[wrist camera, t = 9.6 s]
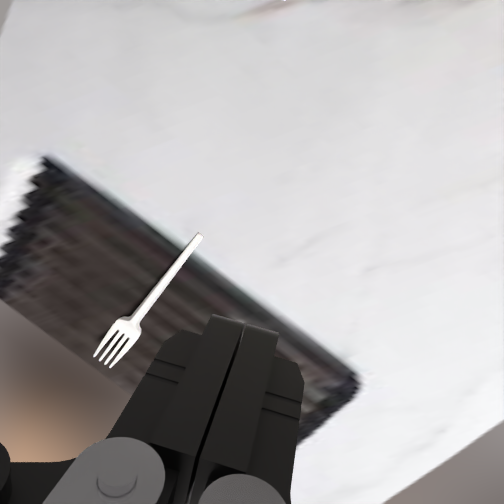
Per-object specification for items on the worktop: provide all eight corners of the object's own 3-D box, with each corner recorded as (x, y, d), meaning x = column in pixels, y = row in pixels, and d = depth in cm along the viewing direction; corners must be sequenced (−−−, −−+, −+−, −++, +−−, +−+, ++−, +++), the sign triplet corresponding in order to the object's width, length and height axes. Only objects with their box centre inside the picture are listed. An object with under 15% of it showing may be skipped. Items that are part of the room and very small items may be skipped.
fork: (217, 240, 45) (212, 248, 43) (120, 360, 54) (113, 371, 52) (190, 220, 45) (184, 226, 43) (97, 344, 53) (89, 354, 52)
